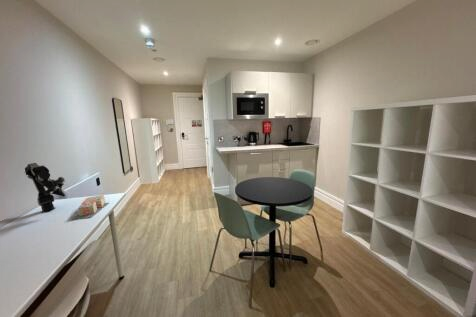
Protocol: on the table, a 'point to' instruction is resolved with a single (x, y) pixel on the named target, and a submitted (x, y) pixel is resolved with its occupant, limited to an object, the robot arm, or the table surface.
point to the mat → (89, 214)
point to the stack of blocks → (91, 205)
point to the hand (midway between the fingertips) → (64, 196)
